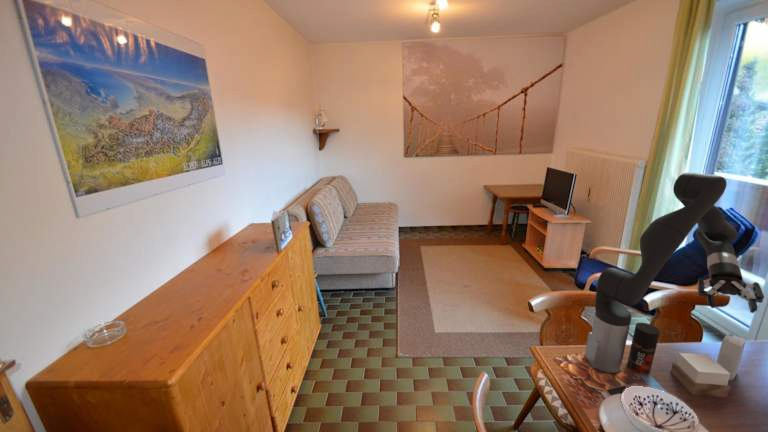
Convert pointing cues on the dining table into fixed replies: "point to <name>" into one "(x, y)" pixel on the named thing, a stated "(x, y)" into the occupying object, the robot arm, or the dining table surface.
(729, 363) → the skincare box
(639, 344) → the deodorant
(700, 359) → the offwhite block
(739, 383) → the dining table surface
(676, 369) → the walnut block
